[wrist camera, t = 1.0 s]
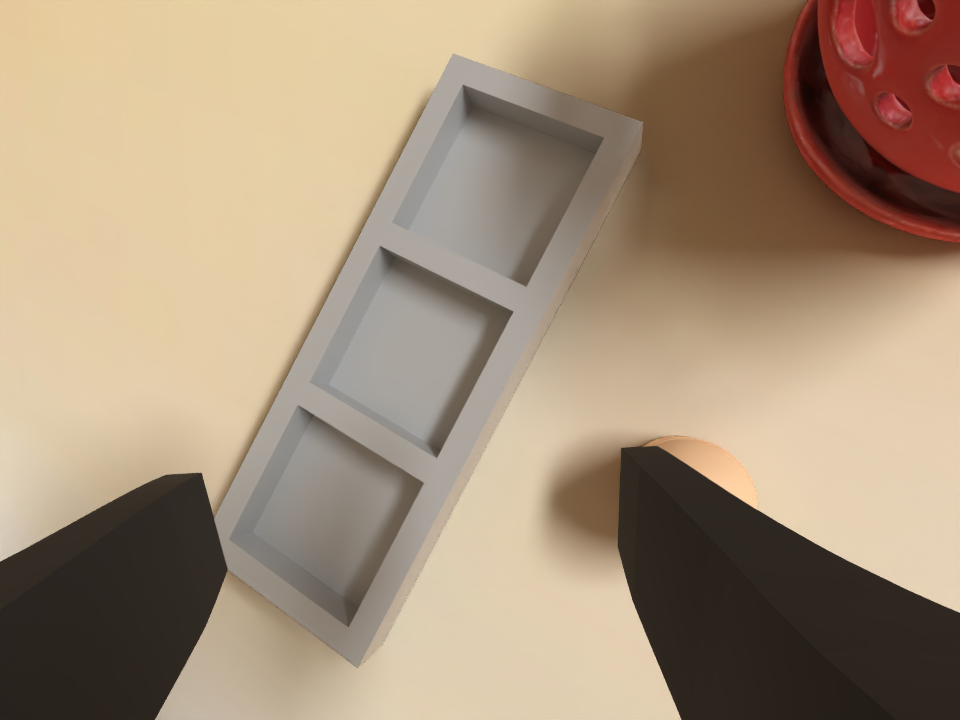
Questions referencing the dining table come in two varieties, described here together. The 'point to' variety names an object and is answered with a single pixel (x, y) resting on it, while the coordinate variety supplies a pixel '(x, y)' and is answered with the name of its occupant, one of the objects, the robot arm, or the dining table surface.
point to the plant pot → (881, 107)
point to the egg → (711, 464)
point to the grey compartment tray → (421, 349)
